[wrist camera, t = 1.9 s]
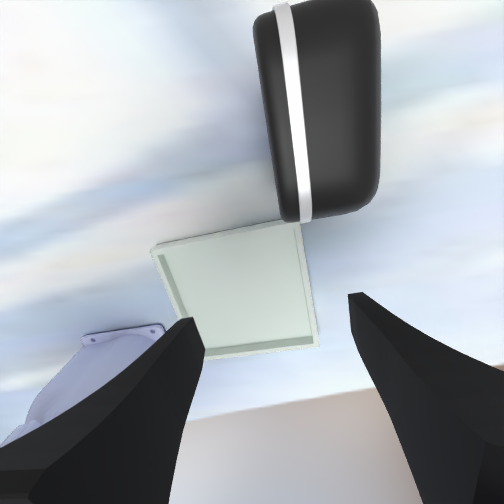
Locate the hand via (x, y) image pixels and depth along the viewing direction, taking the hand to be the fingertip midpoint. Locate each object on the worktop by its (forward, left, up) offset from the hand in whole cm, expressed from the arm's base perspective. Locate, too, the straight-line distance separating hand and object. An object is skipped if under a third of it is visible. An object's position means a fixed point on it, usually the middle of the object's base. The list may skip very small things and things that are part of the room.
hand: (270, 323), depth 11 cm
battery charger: (+3, +8, -11) cm, 14 cm away
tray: (-4, -4, -10) cm, 12 cm away
